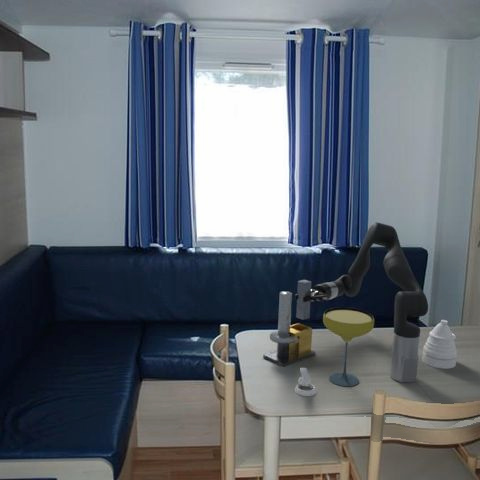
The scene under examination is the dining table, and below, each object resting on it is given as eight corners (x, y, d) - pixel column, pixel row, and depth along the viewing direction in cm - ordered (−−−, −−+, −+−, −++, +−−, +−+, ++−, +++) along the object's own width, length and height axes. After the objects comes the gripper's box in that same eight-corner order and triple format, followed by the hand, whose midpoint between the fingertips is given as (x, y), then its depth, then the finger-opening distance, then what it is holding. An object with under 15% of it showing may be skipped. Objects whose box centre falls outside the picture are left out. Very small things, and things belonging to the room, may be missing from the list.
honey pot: (458, 370, 213) (463, 326, 210) (424, 366, 216) (428, 323, 212) (452, 357, 225) (457, 315, 222) (420, 354, 228) (424, 312, 224)
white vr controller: (289, 385, 184) (289, 367, 189) (296, 403, 192) (295, 385, 197) (311, 383, 182) (310, 365, 187) (317, 401, 191) (316, 383, 195)
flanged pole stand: (283, 366, 211) (286, 299, 206) (263, 357, 219) (265, 292, 214) (315, 354, 224) (319, 290, 218) (295, 346, 232) (298, 284, 226)
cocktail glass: (373, 375, 206) (378, 312, 201) (363, 395, 190) (369, 327, 185) (326, 366, 213) (330, 304, 208) (313, 384, 197) (317, 318, 192)
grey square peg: (303, 319, 230) (305, 283, 227) (296, 317, 233) (297, 281, 230) (309, 318, 233) (311, 281, 230) (302, 315, 235) (304, 279, 232)
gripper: (313, 280, 245) (287, 286, 233) (339, 286, 235) (312, 293, 223) (312, 296, 246) (286, 303, 235) (337, 303, 236) (312, 311, 225)
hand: (299, 298), depth 229 cm, fingers closed on grey square peg, 4 cm apart
